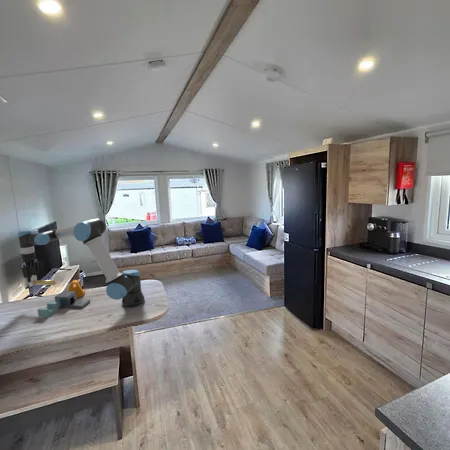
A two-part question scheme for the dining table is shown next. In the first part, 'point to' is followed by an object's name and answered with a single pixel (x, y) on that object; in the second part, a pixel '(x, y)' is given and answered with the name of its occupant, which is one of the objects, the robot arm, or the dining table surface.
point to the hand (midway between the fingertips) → (33, 285)
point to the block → (70, 300)
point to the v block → (48, 310)
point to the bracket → (76, 288)
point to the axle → (44, 282)
